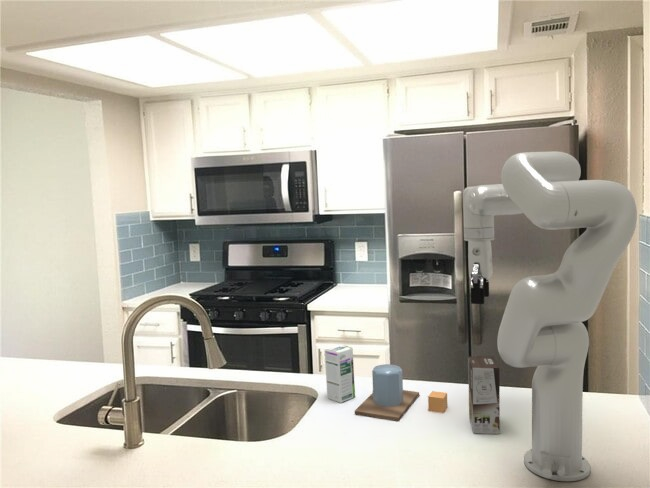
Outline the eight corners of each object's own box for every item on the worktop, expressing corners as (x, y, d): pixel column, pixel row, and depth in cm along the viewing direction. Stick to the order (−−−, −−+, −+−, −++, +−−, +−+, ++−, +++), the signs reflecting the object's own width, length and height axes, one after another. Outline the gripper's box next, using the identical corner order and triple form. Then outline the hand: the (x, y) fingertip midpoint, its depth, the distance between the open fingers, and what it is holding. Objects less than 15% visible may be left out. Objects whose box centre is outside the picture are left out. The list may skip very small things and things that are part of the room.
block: (443, 413, 141) (443, 398, 141) (428, 411, 143) (428, 396, 143) (447, 407, 145) (447, 393, 144) (432, 405, 147) (432, 391, 146)
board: (398, 421, 137) (398, 417, 137) (354, 414, 143) (354, 410, 143) (419, 395, 153) (419, 392, 153) (378, 390, 159) (378, 386, 159)
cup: (396, 408, 143) (395, 374, 142) (370, 404, 146) (369, 371, 145) (405, 398, 150) (404, 366, 149) (380, 394, 153) (379, 363, 152)
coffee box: (500, 434, 128) (500, 367, 126) (472, 433, 129) (471, 367, 127) (495, 418, 137) (494, 355, 135) (468, 417, 138) (467, 355, 136)
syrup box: (341, 403, 150) (338, 352, 149) (326, 398, 154) (324, 348, 153) (355, 397, 154) (353, 347, 152) (340, 392, 158) (338, 343, 157)
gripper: (489, 237, 131) (491, 307, 133) (497, 231, 147) (498, 294, 149) (458, 237, 134) (459, 306, 136) (469, 231, 150) (470, 293, 152)
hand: (480, 299), depth 142 cm, fingers open, 9 cm apart
